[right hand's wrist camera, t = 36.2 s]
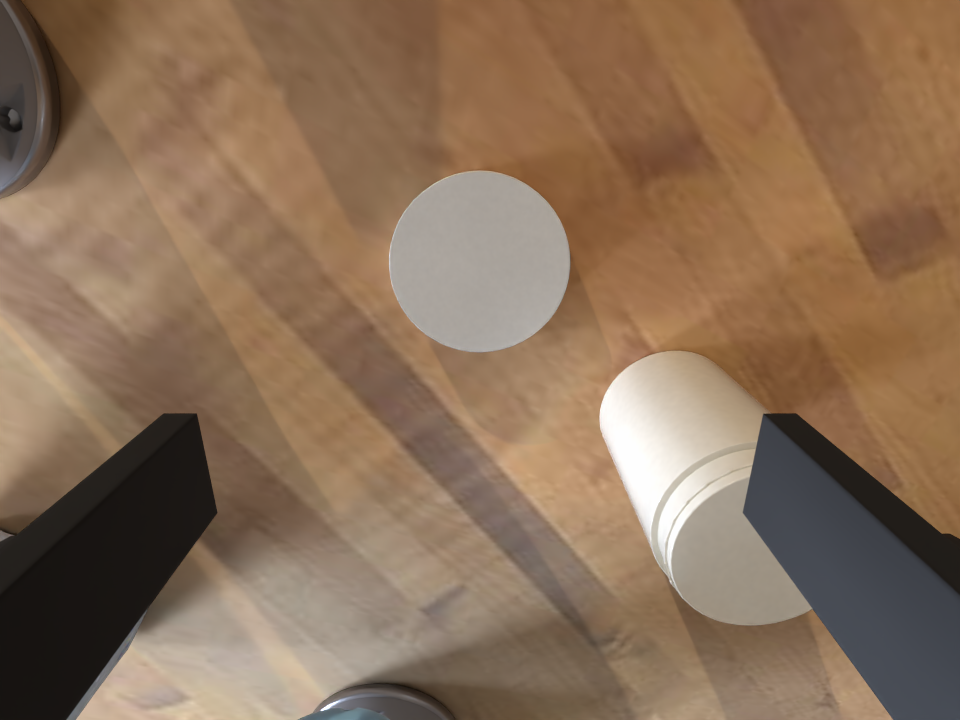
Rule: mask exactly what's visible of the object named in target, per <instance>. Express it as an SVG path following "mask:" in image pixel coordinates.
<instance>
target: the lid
mask: <svg viewBox="0 0 960 720" xmlns="http://www.w3.org/2000/svg"><path fill="white" fill-rule="evenodd" d="M389 269H390V277H391V282H392V286H393V290H394V292H395V295H396V297H397V300H398V302H399V304H400V305H401V307H402V309H403V311H404V312H405V314H406V315H407V316H408V318H409V319H410V320H411V321H412V322H413V323H414V324H415V325H416V326H417V328H418V329H420V330H421V331H422V332H423V333H425V334H426V335H427V336H429V337H430V338H432V339H434V340H435V341H437V342H439V343H441V344H443V345H446V346H448V347H451V348H454V349H457V350H463V351H468V352H492V351H497V350H502V349H505V348H508V347H512V346H514V345H516V344H518V343H521V342H523V341H524V340H526V339H528V338H529V337H531V336H532V335H534V334H535V333H536V332H537V331H539V330H540V329H541V328H542V327H543V326H544V325H545V324H546V323H547V322H548V321H549V320H550V318H551V317H552V316H553V314H554V313H555V312H556V310H557V308H558V306H559V305H560V303H561V301H562V299H563V296H564V294H565V291H566V288H567V284H568V280H569V274H570V250H569V243H568V240H567V236H566V233H565V230H564V228H563V225H562V223H561V221H560V219H559V217H558V216H557V214H556V212H555V211H554V209H553V208H552V207H551V206H550V204H549V203H548V202H547V201H546V200H545V199H544V198H543V197H542V196H541V195H540V194H539V193H538V192H537V191H535V190H534V189H532V188H531V187H530V186H528V185H527V184H525V183H524V182H522V181H520V180H518V179H516V178H514V177H511V176H508V175H506V174H503V173H498V172H493V171H482V170H478V171H466V172H462V173H457V174H454V175H451V176H448V177H446V178H444V179H442V180H440V181H438V182H436V183H434V184H433V185H431V186H430V187H429V188H427V189H426V190H424V191H423V192H422V193H421V194H420V195H419V196H417V197H416V198H415V199H414V200H413V201H412V203H411V204H410V205H409V206H408V208H407V209H406V210H405V212H404V213H403V215H402V217H401V218H400V220H399V222H398V224H397V227H396V229H395V231H394V234H393V238H392V242H391V247H390V254H389Z"/></svg>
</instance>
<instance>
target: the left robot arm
mask: <svg viewBox="0 0 960 720" xmlns="http://www.w3.org/2000/svg"><path fill="white" fill-rule="evenodd" d="M298 720H455V719H454V717H453V716H452V715H451V713H450V712H449V711H448V710H447V709H446V708H445V707H444V706H443V705H442V704H441V703H439V702H438V701H437V700H435V699H433V698H432V697H430V696H428V695H426V694H424V693H422V692H419V691H417V690H414V689H411V688H407V687H403V686H398V685H391V684H367V685H360V686H355V687H351V688H348V689H345V690H342V691H340V692H338V693H335V694H334V695H332V696H330V697H329V698H327V699H326V700H324V701H323V702H322V703H321V704H320V705H319V706H318V707H317V708H316V709H315V711H314V712H313V713H312V714H310V715H307V716H305V717H302V718H300V719H298Z"/></svg>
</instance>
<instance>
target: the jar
mask: <svg viewBox="0 0 960 720" xmlns="http://www.w3.org/2000/svg"><path fill="white" fill-rule="evenodd" d="M763 414H772V413H771V412H770V411H769V410H768V409H767V408H765V407H764V406H763V405H762V404H761V403H760V402H759V401H758V400H756V399H755V398H754V397H753V396H752V395H751V394H750V393H749V392H748V391H746V390H745V389H744V388H743V387H742V386H741V385H740V384H739V383H737V382H736V381H735V380H734V379H733V378H732V377H731V376H730V375H729V374H727V373H726V372H725V371H724V370H723V369H722V368H721V367H720V366H718V365H717V364H716V363H714V362H713V361H712V360H710V359H708V358H706V357H704V356H702V355H699V354H696V353H692V352H687V351H666V352H659V353H656V354H652V355H649V356H647V357H644V358H642V359H640V360H638V361H636V362H634V363H633V364H631V365H630V366H629V367H627V368H626V369H625V370H624V371H622V372H621V373H620V374H619V375H618V376H617V378H616V379H615V380H614V381H613V382H612V384H611V385H610V387H609V388H608V390H607V392H606V394H605V396H604V399H603V402H602V405H601V410H600V428H601V432H602V436H603V438H604V441H605V443H606V445H607V448H608V450H609V452H610V454H611V457H612V459H613V461H614V464H615V466H616V468H617V471H618V473H619V475H620V478H621V480H622V482H623V485H624V487H625V489H626V492H627V494H628V496H629V498H630V501H631V503H632V505H633V508H634V510H635V512H636V515H637V517H638V519H639V522H640V524H641V526H642V529H643V531H644V533H645V536H646V538H647V540H648V543H649V545H650V547H651V549H652V552H653V554H654V556H655V559H656V561H657V563H658V564H659V566H660V568H661V569H662V570H663V572H664V573H665V574H666V575H667V576H668V577H669V580H670V583H671V584H672V586H673V587H674V588H675V590H676V591H677V592H678V594H679V595H680V596H681V598H682V599H683V600H684V601H686V602H687V603H688V604H689V605H690V606H691V607H693V608H694V609H695V610H696V611H698V612H700V613H701V614H703V615H705V616H707V617H709V618H711V619H714V620H717V621H720V622H723V623H728V624H734V625H744V626H755V625H766V624H773V623H777V622H782V621H785V620H789V619H792V618H795V617H797V616H800V615H802V614H804V613H806V612H808V611H810V610H812V607H811V606H810V605H809V603H808V602H807V600H806V599H805V598H804V596H803V595H802V594H801V592H800V591H799V589H798V588H797V587H796V585H795V584H794V583H793V581H792V580H791V578H790V577H789V576H788V574H787V573H786V572H785V570H784V569H783V567H782V566H781V565H780V563H779V562H778V561H777V559H776V558H775V556H774V555H773V554H772V552H771V551H770V550H769V548H768V547H767V546H766V544H765V543H764V541H763V540H762V539H761V537H760V536H759V535H758V533H757V532H756V530H755V529H754V528H753V526H752V525H751V524H750V522H749V521H748V519H747V518H746V517H745V515H744V514H743V508H744V504H745V499H746V494H747V489H748V484H749V479H750V475H751V470H752V465H753V460H754V455H755V450H756V446H757V441H758V436H759V431H760V426H761V422H762V417H763Z"/></svg>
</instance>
